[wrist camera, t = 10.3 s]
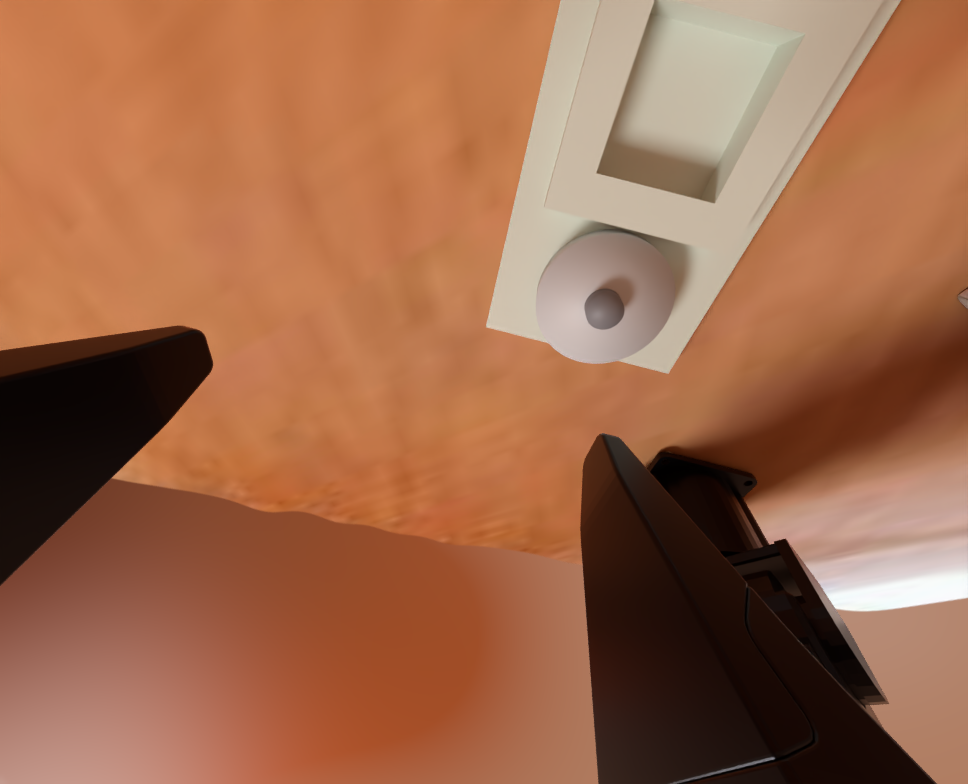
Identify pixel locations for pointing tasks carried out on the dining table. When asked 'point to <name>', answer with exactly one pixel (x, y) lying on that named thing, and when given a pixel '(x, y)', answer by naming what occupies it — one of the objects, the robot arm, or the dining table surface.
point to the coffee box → (964, 298)
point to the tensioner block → (663, 161)
